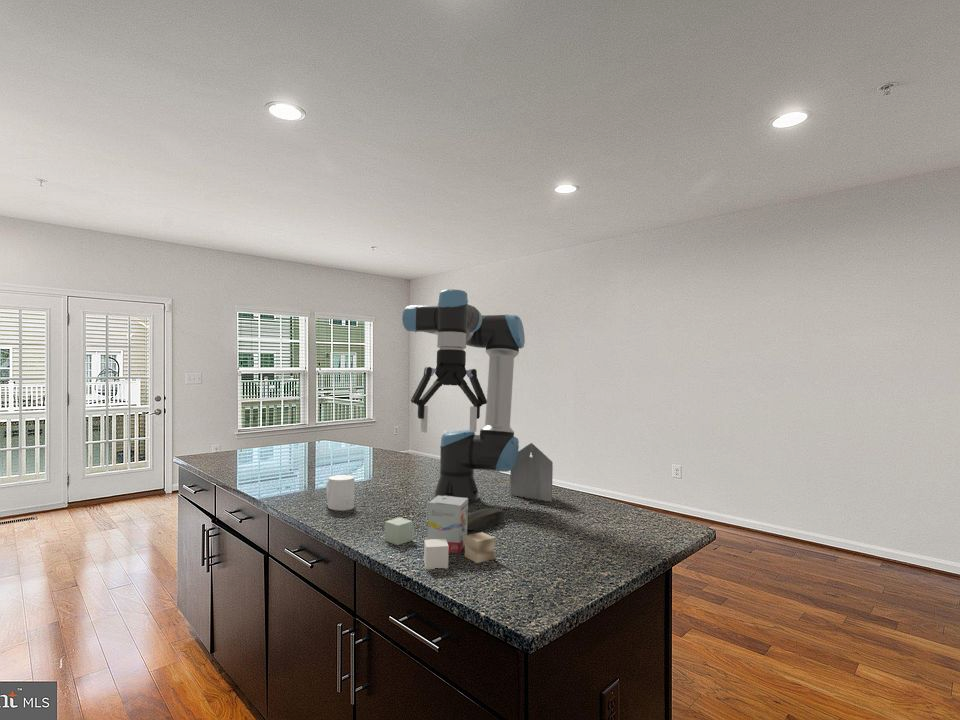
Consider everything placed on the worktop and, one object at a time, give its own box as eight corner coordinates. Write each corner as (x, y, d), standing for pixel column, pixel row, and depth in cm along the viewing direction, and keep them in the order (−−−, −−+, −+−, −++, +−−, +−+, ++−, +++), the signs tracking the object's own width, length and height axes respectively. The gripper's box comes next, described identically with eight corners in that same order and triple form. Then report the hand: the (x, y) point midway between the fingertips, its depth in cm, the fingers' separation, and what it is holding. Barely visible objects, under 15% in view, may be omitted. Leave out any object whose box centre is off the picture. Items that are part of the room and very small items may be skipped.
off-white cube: (445, 560, 118) (445, 538, 118) (448, 568, 113) (448, 546, 113) (423, 561, 117) (424, 539, 117) (425, 569, 112) (426, 547, 112)
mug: (360, 477, 162) (339, 481, 156) (360, 507, 162) (338, 512, 155) (339, 472, 170) (317, 475, 163) (338, 500, 169) (317, 505, 163)
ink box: (460, 554, 122) (461, 504, 122) (426, 550, 124) (427, 502, 124) (468, 542, 131) (468, 496, 131) (436, 539, 132) (437, 493, 133)
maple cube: (481, 552, 123) (482, 532, 124) (494, 559, 119) (494, 537, 119) (464, 556, 120) (465, 535, 121) (476, 563, 116) (477, 541, 117)
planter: (560, 497, 179) (561, 442, 180) (551, 502, 173) (552, 445, 173) (520, 491, 188) (520, 438, 188) (509, 495, 181) (510, 441, 182)
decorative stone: (465, 535, 137) (465, 520, 137) (449, 530, 141) (450, 515, 141) (508, 523, 149) (508, 508, 149) (492, 518, 153) (492, 504, 153)
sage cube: (399, 536, 134) (399, 517, 134) (412, 540, 131) (412, 521, 131) (384, 541, 130) (385, 521, 131) (397, 545, 127) (398, 525, 127)
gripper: (488, 352, 140) (485, 429, 139) (400, 347, 130) (397, 430, 129) (500, 351, 134) (498, 432, 133) (409, 345, 123) (406, 433, 122)
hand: (448, 431), depth 131 cm, fingers open, 13 cm apart
